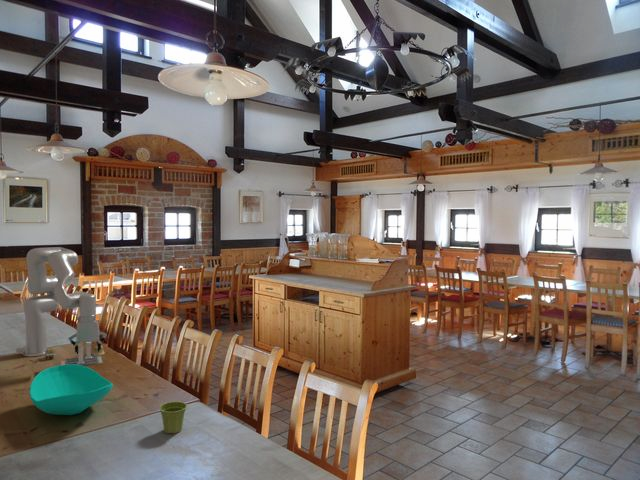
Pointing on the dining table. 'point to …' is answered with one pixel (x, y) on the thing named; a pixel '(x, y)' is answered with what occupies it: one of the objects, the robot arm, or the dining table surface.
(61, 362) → the panel
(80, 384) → the table top decor
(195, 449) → the dining table surface
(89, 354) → the handle
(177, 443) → the dining table surface
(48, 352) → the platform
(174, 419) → the plant pot
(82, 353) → the handle
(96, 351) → the hand bell
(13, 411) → the dining table surface
